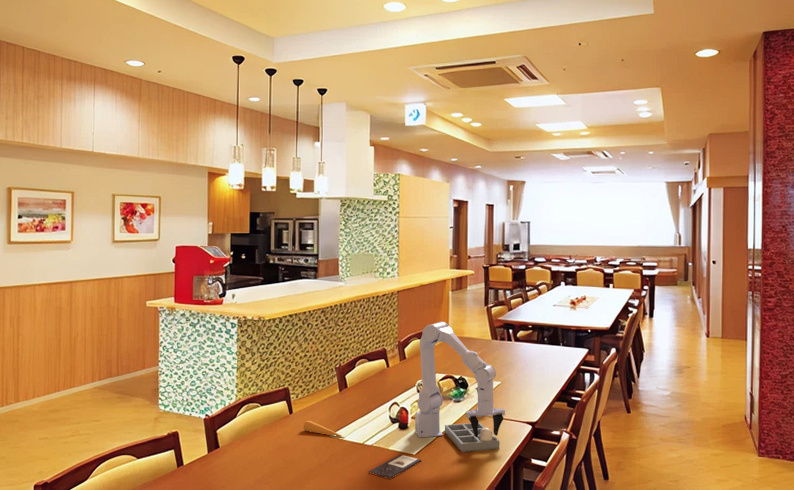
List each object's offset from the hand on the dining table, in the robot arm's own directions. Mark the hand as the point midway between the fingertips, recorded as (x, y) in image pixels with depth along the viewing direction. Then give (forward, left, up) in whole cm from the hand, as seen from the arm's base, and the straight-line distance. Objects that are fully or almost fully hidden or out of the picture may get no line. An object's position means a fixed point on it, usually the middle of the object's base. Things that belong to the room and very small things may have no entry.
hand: (485, 435), depth 216 cm
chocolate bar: (-36, -11, -5) cm, 38 cm away
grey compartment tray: (-3, +7, -4) cm, 9 cm away
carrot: (-57, +27, -4) cm, 63 cm away
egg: (0, 0, -3) cm, 3 cm away
